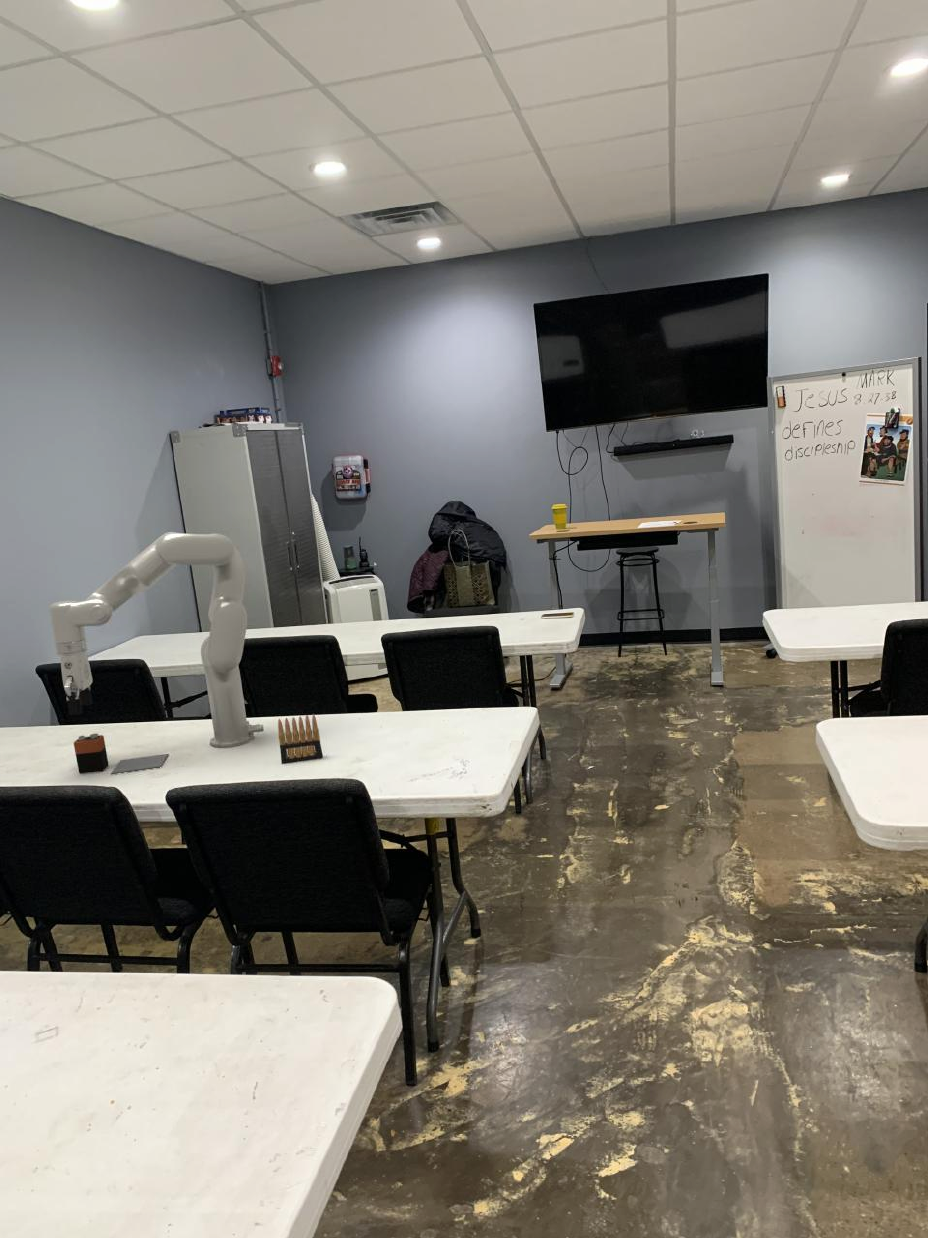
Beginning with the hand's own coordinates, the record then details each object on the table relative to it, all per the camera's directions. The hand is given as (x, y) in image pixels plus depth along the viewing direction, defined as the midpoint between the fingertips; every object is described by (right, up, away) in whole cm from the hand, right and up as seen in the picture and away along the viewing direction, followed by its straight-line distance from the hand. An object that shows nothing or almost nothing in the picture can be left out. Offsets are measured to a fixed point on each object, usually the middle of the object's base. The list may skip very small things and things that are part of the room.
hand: (81, 709), depth 233 cm
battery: (+2, -17, +3) cm, 18 cm away
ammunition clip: (+61, -13, -6) cm, 62 cm away
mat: (+15, -16, +4) cm, 22 cm away
